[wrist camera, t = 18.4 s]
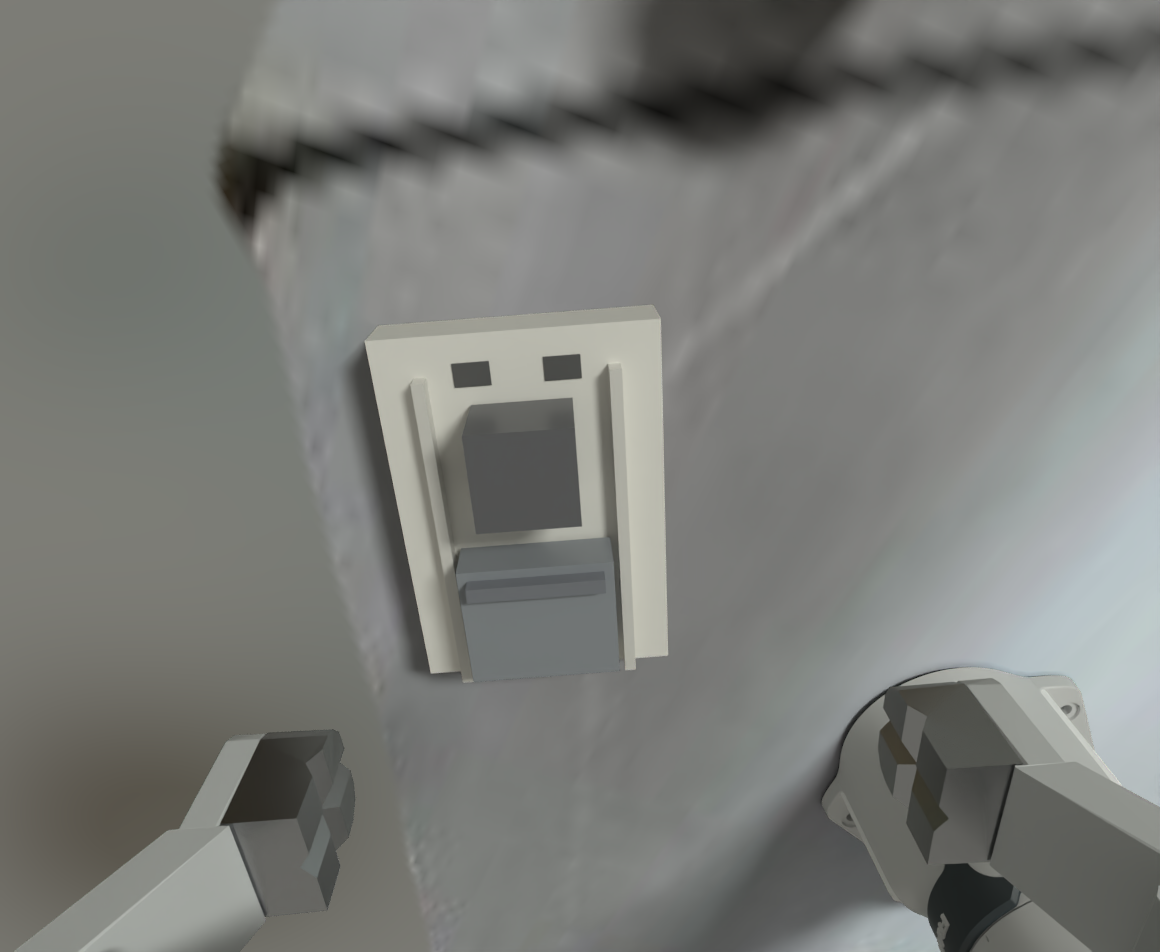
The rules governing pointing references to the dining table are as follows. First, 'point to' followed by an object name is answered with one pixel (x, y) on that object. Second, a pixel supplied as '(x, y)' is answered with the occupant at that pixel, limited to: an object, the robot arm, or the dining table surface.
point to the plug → (522, 465)
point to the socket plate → (603, 442)
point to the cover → (539, 609)
